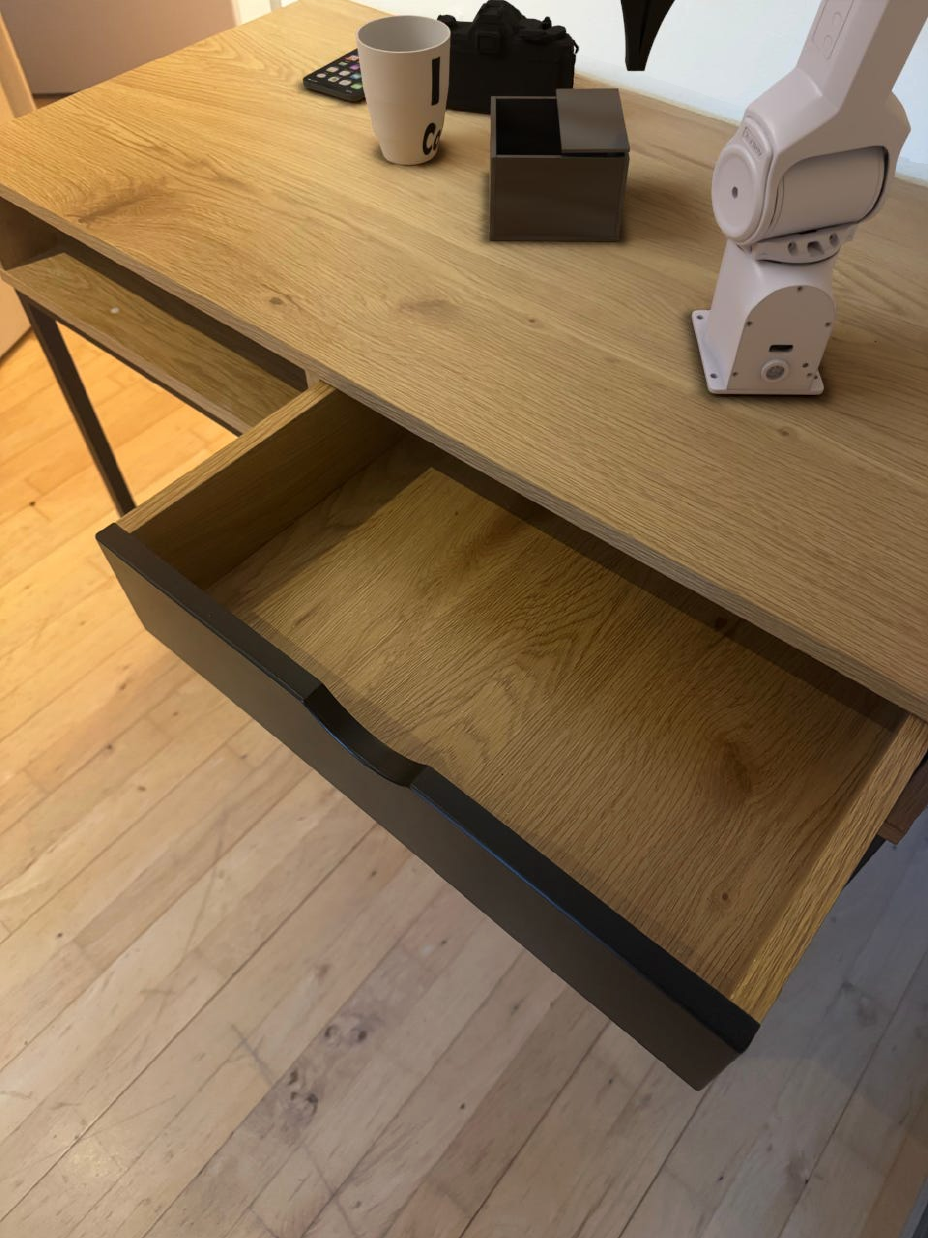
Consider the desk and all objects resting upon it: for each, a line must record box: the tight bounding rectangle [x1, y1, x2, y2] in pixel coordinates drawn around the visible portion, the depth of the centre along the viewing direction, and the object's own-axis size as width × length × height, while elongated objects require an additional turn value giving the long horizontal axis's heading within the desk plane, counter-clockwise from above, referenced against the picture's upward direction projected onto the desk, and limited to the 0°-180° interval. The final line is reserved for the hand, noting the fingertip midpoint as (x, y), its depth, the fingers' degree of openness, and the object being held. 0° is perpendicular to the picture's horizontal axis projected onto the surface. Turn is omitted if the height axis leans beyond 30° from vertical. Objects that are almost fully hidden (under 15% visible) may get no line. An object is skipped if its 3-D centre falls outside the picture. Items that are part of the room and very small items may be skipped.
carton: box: [488, 96, 631, 242], centre depth 76 cm, size 11×11×7 cm
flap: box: [556, 87, 631, 153], centre depth 73 cm, size 11×5×1 cm, turn 179°
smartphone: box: [302, 47, 366, 102], centre depth 96 cm, size 7×1×15 cm
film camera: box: [436, 0, 580, 115], centre depth 89 cm, size 15×10×9 cm, turn 74°
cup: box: [355, 14, 450, 166], centre depth 81 cm, size 8×8×10 cm
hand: (634, 65), depth 72 cm, fingers closed
